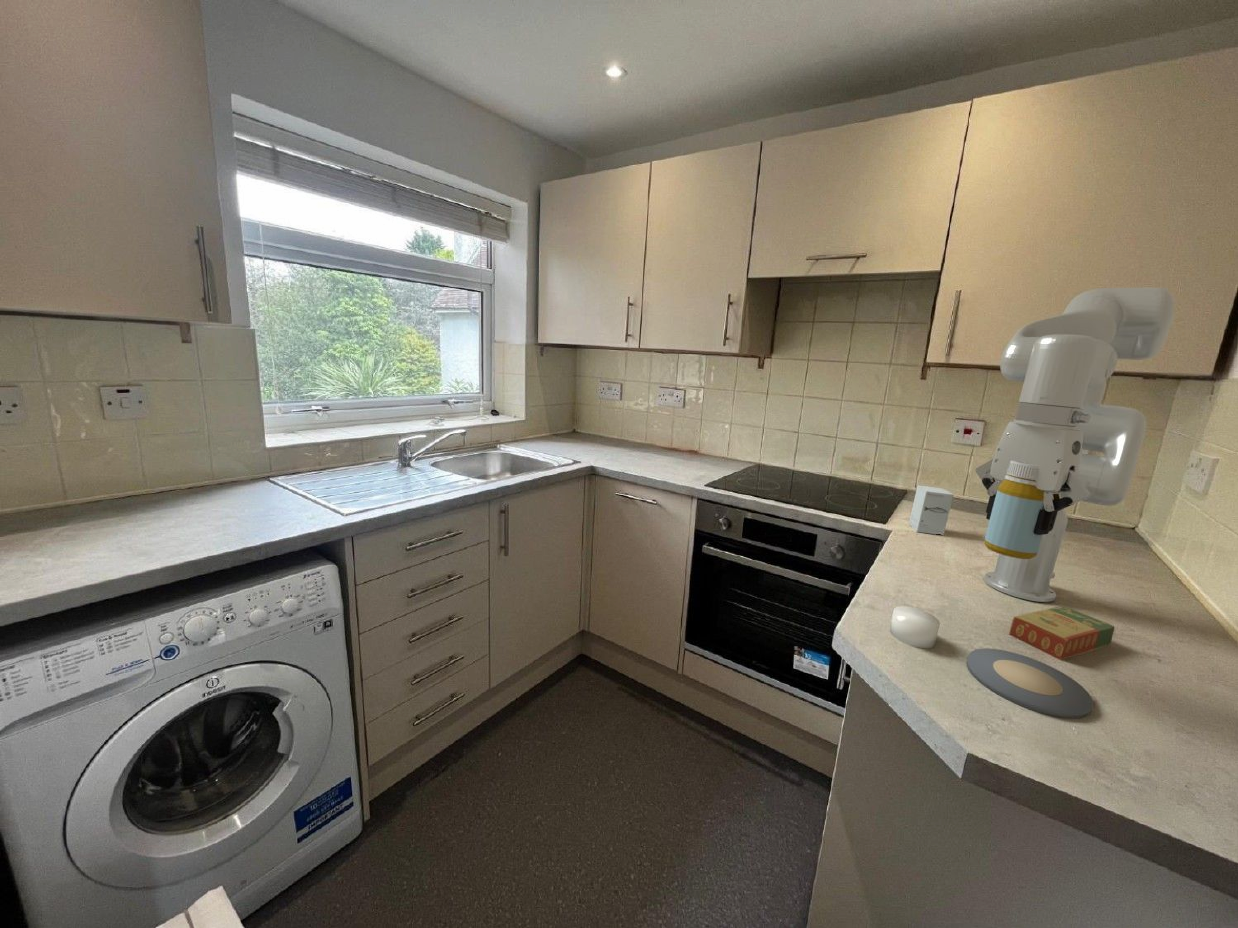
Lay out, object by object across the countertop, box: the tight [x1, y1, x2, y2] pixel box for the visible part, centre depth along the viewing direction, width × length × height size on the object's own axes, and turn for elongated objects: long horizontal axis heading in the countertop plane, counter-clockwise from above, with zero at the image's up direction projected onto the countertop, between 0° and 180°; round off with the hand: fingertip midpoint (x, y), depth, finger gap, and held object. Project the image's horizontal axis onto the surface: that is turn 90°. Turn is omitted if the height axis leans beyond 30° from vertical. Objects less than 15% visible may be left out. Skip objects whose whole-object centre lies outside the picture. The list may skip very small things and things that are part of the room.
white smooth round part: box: [888, 605, 941, 649], centre depth 87 cm, size 7×7×4 cm
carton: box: [1008, 605, 1115, 661], centre depth 90 cm, size 8×16×4 cm, turn 113°
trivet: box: [966, 647, 1094, 719], centre depth 76 cm, size 15×15×1 cm
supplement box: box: [908, 484, 954, 536], centre depth 146 cm, size 7×7×13 cm
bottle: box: [983, 461, 1044, 559], centre depth 81 cm, size 7×7×15 cm
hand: (1016, 525), depth 81 cm, fingers closed on bottle, 6 cm apart
